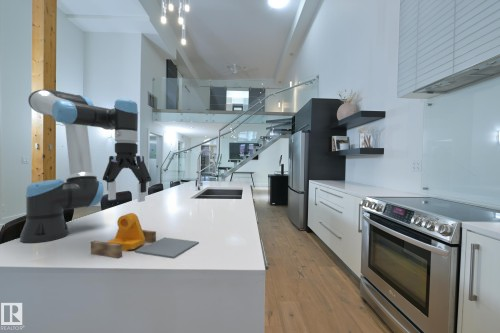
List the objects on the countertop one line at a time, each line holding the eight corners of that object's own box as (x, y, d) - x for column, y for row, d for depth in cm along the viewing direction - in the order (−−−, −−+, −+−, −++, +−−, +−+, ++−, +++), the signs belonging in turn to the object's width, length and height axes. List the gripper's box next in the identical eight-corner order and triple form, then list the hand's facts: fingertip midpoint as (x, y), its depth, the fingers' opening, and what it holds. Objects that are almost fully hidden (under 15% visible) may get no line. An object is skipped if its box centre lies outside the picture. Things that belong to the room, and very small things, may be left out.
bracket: (105, 250, 86) (105, 216, 86) (118, 243, 94) (118, 212, 93) (133, 251, 85) (133, 217, 85) (144, 244, 92) (145, 213, 92)
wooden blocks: (90, 253, 83) (90, 241, 83) (131, 238, 100) (131, 228, 100) (118, 258, 79) (118, 246, 79) (155, 241, 96) (155, 231, 96)
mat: (134, 252, 84) (134, 250, 84) (164, 238, 99) (164, 237, 99) (173, 258, 79) (173, 256, 79) (198, 243, 94) (198, 241, 94)
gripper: (91, 142, 89) (91, 200, 89) (146, 141, 81) (146, 203, 82) (109, 144, 96) (109, 197, 96) (161, 142, 89) (161, 200, 89)
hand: (126, 200), depth 89 cm, fingers open, 13 cm apart
